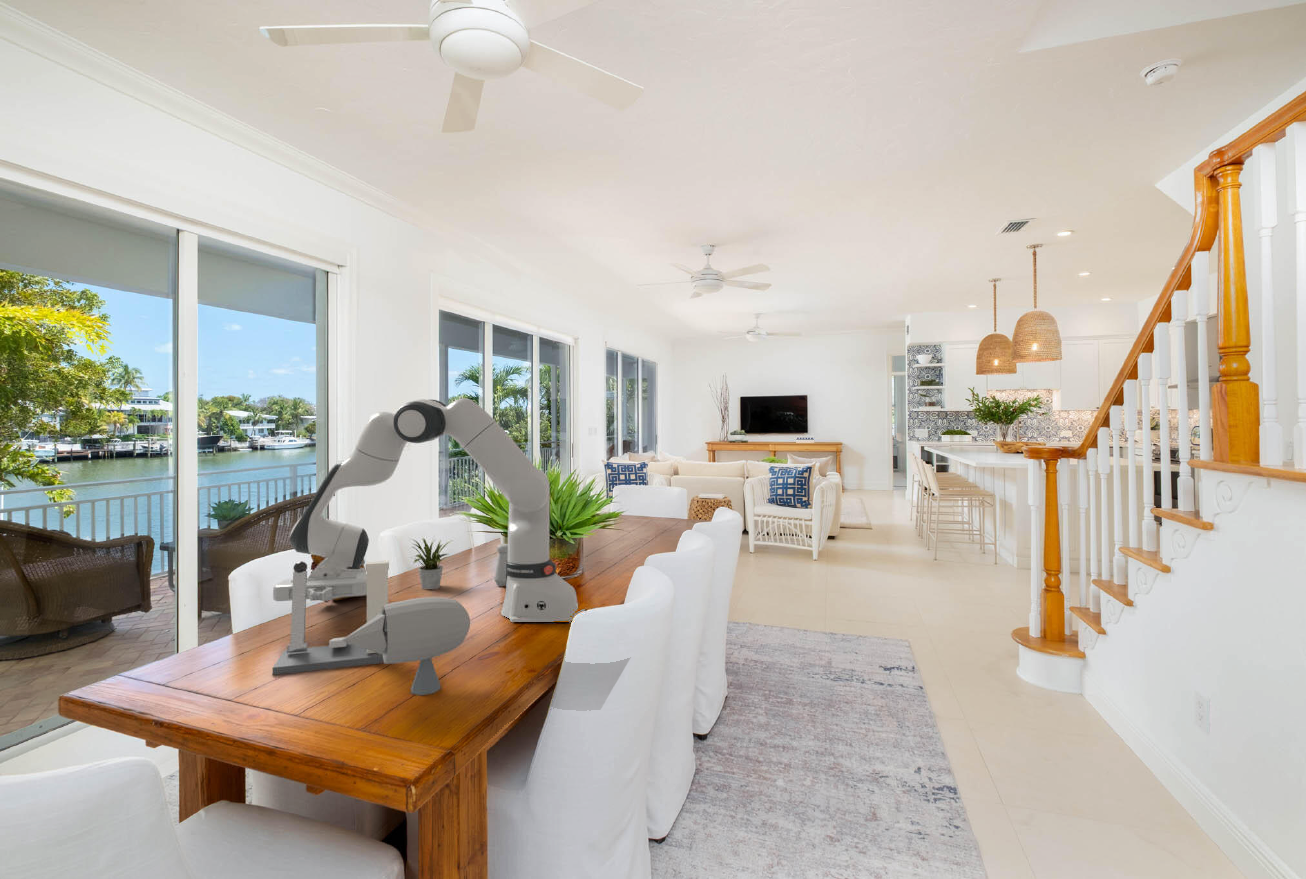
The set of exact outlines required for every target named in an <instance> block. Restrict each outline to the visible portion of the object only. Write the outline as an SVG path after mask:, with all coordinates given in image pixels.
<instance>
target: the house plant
mask: <svg viewBox="0 0 1306 879" xmlns="http://www.w3.org/2000/svg"><path fill="white" fill-rule="evenodd" d="M434 538H435V536H433V537H432V540H431V543H430V546H429V545H428V542H427V540H426V539H425V538H424V537H422V538H421V540H422V542H423V544H424V547H423V548H422V546H421V544H420V543H419V542H418V541H417V540H415V539H413V538H412V539H411V538H410V540H412V541H413V542H415V543H413V545H414V546H415V547H414V546H412V548H413V549H415V550H416V552H418V553H419V554H416V555H415V557H417V558H415V557H414V559H415V560H414V561H413V565H414V563H416V562H417V563H418V562H419V563H420V564H421V565H422V566H419V567H418V574H419V580H420V585H421V589H422V590H425V589H432V590H437V589H439V588H440V587H441V579H442V573H443V568H444V567H443V565H440V563H441V562H442V561H443V560H444V559H447V558H448V556H447V555H448V553H442V554H440V553H441V552H442V550H443V549H444V548H445V547H446V546H447V545H448V544H449V543H451V542H453V540H452V539H451V540H449V541H448V542H445V544H441V539H440V540H439V542H438V544H437V545H436V548H435V550H434V551H433V550H432V549H433V543H434V542H435V541H436V539H437V538H436V539H434ZM433 539H434V540H433ZM416 547H417V548H416ZM418 549H419V550H418ZM432 551H433V552H432ZM421 552H422V553H421ZM442 557H443V558H442ZM408 558H411V559H412V558H413V557H408ZM441 558H442V559H441ZM420 560H421V561H422V562H423V563H422V562H421V561H420Z"/></svg>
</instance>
